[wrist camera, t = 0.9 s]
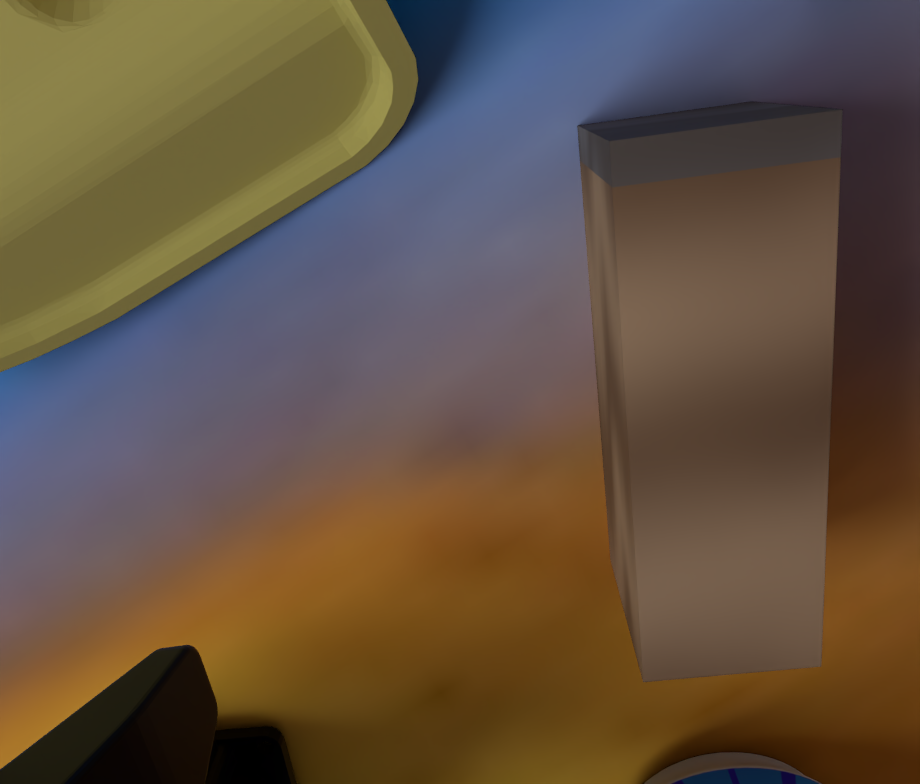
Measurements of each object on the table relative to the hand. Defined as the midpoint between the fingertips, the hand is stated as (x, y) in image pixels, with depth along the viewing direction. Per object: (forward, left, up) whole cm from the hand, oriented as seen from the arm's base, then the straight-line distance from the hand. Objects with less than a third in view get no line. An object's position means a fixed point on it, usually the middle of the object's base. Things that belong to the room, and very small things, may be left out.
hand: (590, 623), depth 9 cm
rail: (-2, -4, -12) cm, 13 cm away
